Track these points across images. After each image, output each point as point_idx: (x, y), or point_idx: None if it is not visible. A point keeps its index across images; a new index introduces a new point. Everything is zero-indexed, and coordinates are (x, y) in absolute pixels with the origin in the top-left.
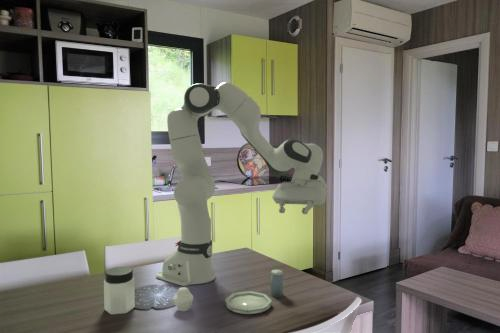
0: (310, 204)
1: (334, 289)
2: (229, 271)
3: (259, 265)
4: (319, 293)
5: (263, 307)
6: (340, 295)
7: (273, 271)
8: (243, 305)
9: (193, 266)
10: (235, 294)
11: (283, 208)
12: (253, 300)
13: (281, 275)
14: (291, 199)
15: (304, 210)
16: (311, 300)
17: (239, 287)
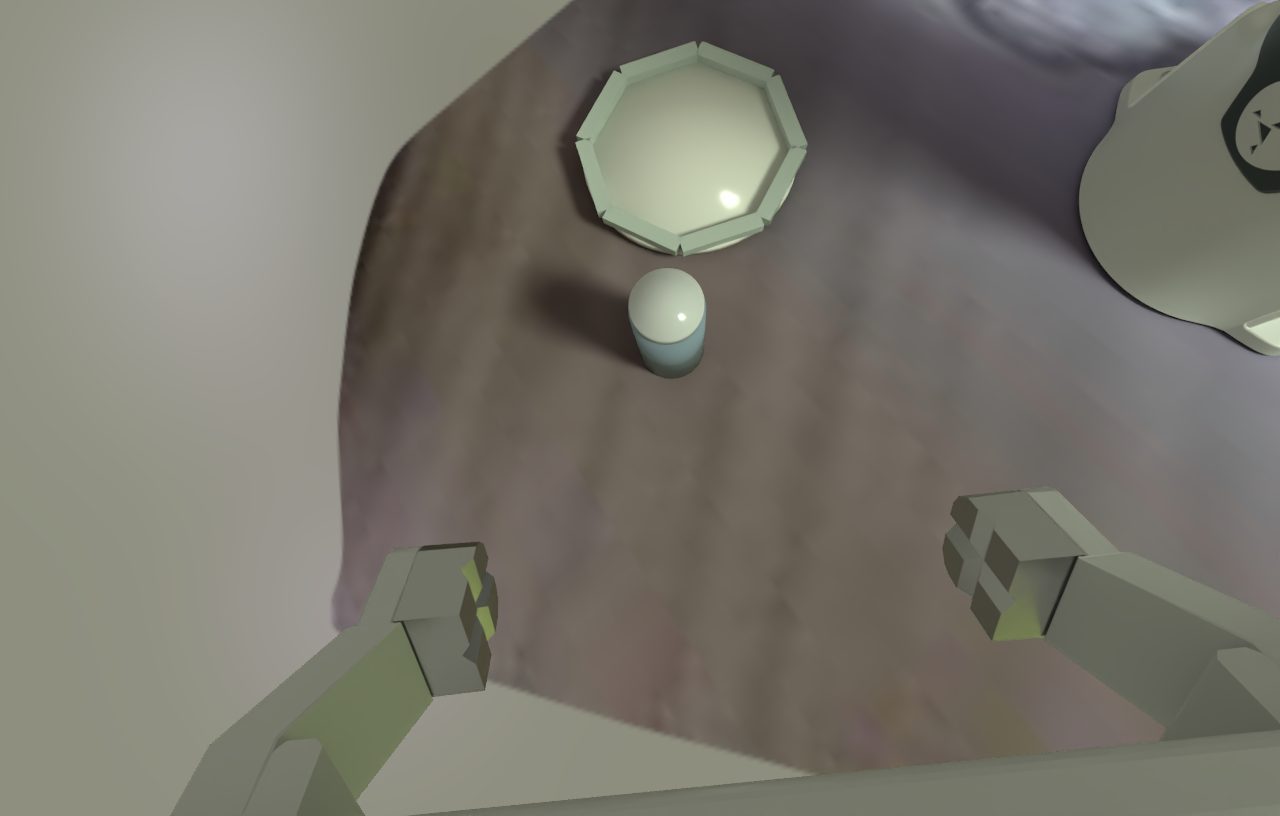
0: (235, 742)
1: None
2: (1159, 432)
3: None
4: (506, 517)
5: (582, 135)
6: None
7: (682, 287)
8: (682, 111)
9: (1201, 64)
10: (789, 148)
11: (997, 556)
12: (686, 180)
13: (628, 309)
14: (943, 767)
15: (411, 561)
16: (492, 409)
17: (890, 283)
